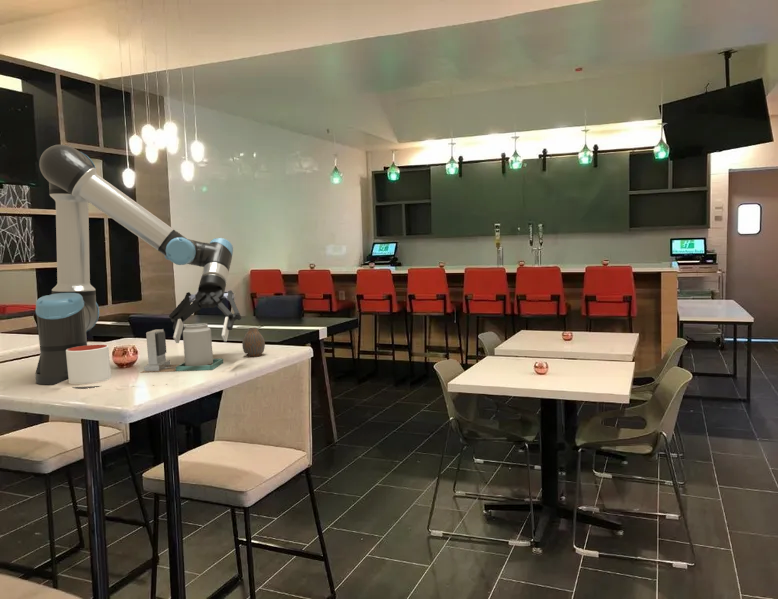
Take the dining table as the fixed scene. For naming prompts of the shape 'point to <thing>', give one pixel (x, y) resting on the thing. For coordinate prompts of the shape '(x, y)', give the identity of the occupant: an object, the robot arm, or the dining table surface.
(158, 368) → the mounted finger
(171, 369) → the teal rectangular pan
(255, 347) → the vase
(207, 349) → the can
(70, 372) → the cup
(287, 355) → the dining table surface
